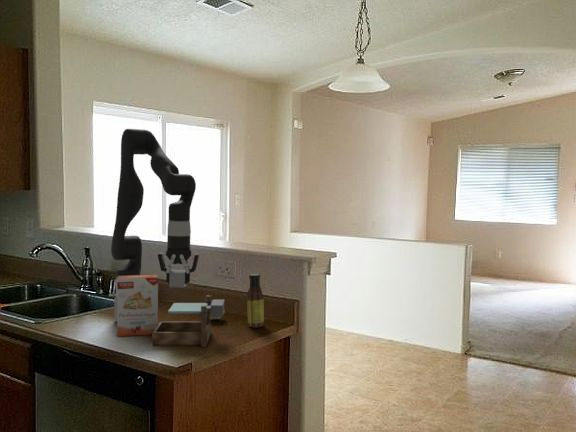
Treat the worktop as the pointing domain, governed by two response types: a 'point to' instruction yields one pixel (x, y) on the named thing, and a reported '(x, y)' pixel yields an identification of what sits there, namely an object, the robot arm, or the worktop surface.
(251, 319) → the sauce bottle
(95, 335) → the worktop surface
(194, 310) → the trapdoor
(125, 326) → the cracker box
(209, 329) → the frame
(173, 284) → the gray cube
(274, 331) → the worktop surface
